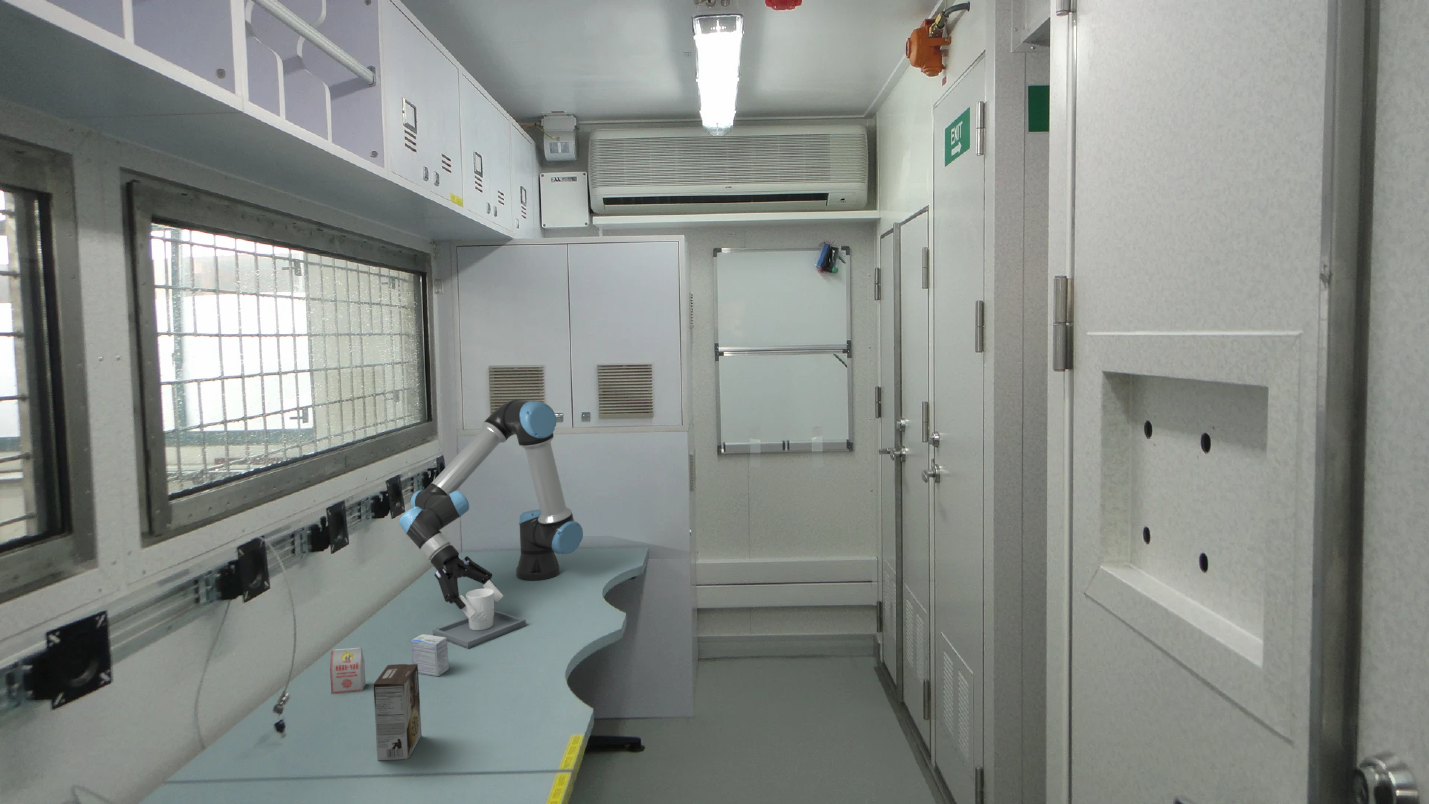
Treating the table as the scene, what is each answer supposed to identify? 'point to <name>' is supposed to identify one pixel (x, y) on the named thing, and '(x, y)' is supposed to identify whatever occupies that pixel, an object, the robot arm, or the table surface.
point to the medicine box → (430, 654)
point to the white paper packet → (347, 670)
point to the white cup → (481, 608)
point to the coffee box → (397, 711)
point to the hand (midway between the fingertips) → (487, 607)
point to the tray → (470, 638)
